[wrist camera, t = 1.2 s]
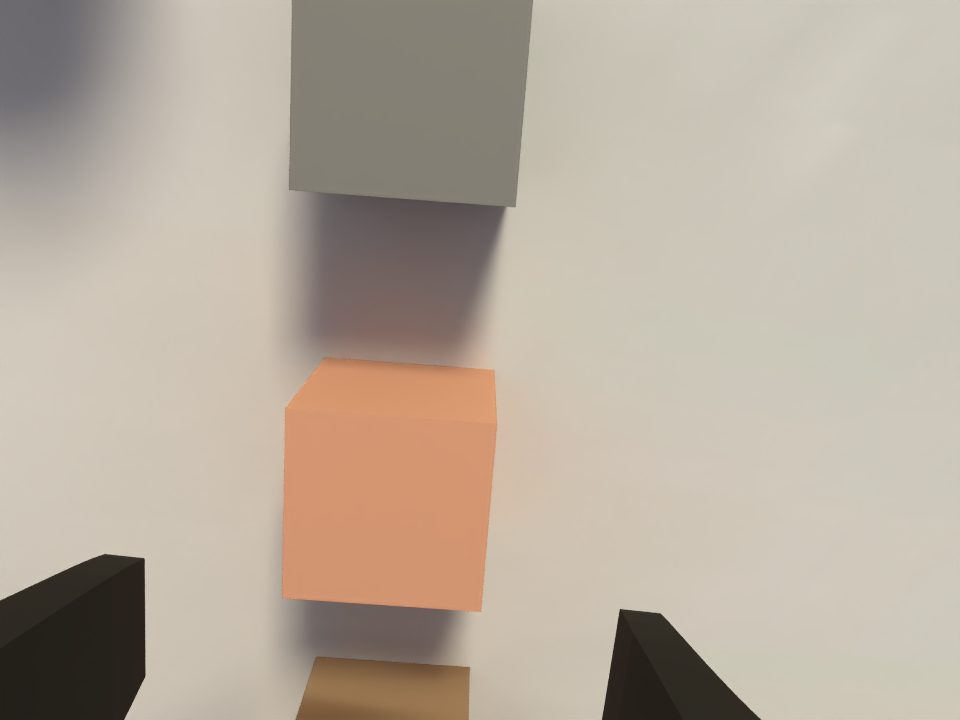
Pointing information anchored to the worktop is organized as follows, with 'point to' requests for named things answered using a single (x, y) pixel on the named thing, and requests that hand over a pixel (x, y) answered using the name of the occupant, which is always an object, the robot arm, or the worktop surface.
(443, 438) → the terracotta cube
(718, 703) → the robot arm
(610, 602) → the worktop surface
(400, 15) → the gray cube
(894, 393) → the worktop surface
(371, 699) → the walnut cube
